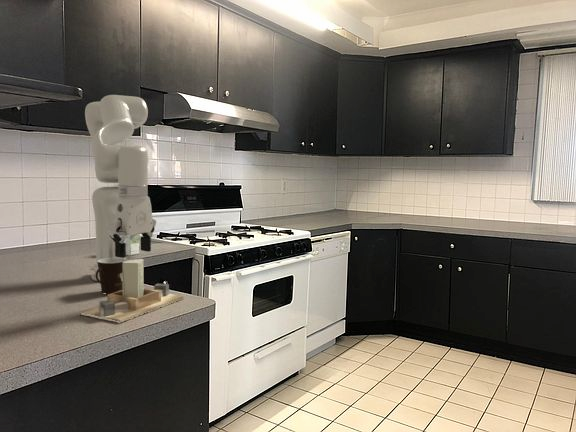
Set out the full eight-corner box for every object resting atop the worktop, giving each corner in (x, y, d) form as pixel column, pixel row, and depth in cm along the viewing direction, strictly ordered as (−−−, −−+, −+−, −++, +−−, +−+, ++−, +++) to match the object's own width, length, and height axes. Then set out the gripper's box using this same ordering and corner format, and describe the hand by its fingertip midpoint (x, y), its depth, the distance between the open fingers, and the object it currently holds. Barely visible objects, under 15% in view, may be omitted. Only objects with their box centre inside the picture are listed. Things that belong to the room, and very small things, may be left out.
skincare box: (128, 300, 134) (127, 257, 133) (144, 300, 135) (144, 258, 133) (122, 306, 128) (121, 262, 127) (138, 306, 128) (138, 262, 127)
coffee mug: (118, 287, 152) (117, 256, 151) (133, 292, 147) (132, 260, 146) (83, 294, 143) (82, 261, 142) (97, 299, 138) (97, 265, 137)
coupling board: (79, 315, 123) (79, 300, 123) (146, 293, 146) (146, 280, 145) (120, 323, 117) (120, 307, 117) (183, 299, 140) (183, 286, 139)
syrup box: (132, 252, 213) (131, 220, 211) (140, 254, 209) (140, 221, 208) (121, 254, 208) (120, 221, 206) (130, 256, 205) (129, 222, 203)
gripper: (119, 195, 119) (120, 261, 121) (165, 191, 135) (164, 250, 137) (97, 193, 122) (98, 258, 124) (144, 189, 138) (144, 247, 140)
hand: (133, 253), depth 131 cm, fingers open, 9 cm apart
